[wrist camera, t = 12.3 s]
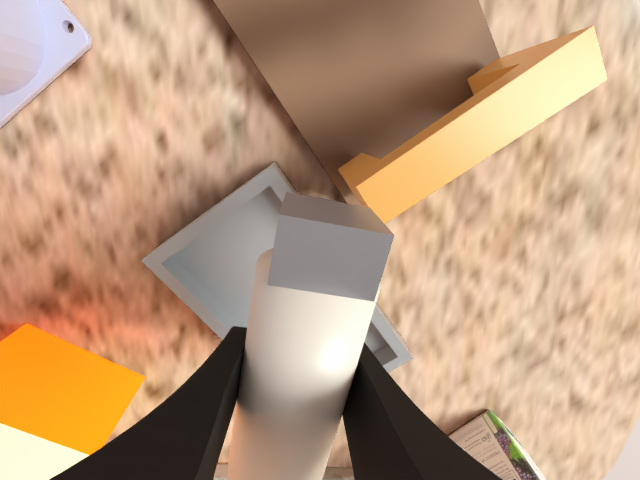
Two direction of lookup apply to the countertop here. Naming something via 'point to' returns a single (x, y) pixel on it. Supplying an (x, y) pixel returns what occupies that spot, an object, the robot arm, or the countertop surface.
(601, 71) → the yellow bridge block
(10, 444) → the orange juice
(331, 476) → the packaged product
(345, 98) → the board
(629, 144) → the countertop surface
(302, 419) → the white cylinder grey cap
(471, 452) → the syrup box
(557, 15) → the countertop surface
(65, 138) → the countertop surface
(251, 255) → the tray
